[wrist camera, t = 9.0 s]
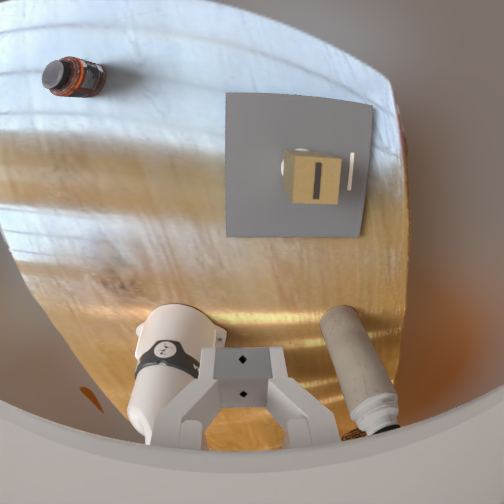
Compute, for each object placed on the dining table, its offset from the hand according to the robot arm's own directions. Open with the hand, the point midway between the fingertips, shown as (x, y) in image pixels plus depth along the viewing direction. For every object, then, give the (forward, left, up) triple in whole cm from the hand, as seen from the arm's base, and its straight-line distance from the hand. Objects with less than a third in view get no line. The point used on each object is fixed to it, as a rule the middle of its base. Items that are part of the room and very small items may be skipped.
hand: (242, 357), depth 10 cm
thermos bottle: (-28, -20, -35) cm, 49 cm away
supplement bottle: (+18, +24, -35) cm, 46 cm away
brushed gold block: (+2, -9, -32) cm, 34 cm away
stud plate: (+2, -9, -35) cm, 36 cm away
